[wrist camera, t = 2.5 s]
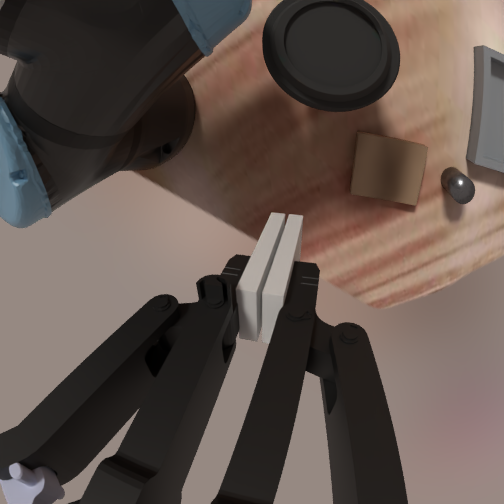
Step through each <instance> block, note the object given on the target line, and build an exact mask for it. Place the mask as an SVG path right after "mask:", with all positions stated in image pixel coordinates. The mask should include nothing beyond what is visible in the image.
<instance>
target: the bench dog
mask: <svg viewBox="0 0 504 504" xmlns="http://www.w3.org/2000/svg"><path fill="white" fill-rule="evenodd" d="M441 184H442V186H443V187H444V188H445V190H446V191H447V192H448V193H449V194H450V195H451V196H452V197H453V198H454V199H455V201H456V202H458V203H460V204H466V203H468V202H470V201H471V200H472V198H473V197H474V194H475V186H474V184H473V182H472V181H471V180H470V179H469V178H468V177H466V176H465V175H464V174H463V173H461V172H460V171H459V170H458V169H456V168H454V167H449V168H447V169H445V170H444V171H443V173H442V175H441Z"/></svg>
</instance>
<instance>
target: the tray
mask: <svg viewBox="0 0 504 504" xmlns="http://www.w3.org/2000/svg"><path fill="white" fill-rule="evenodd" d="M466 158H467V159H468V160H470V161H471V162H473V163H474V164H477V165H480V166H484V167H487V168H490V169H493V170H497V171H500V172H503V173H504V55H503V54H501V53H499V52H497V51H495V50H493V49H490V48H488V47H486V46H484V45H483V46H477V47H474V91H473V106H472V117H471V127H470V135H469V142H468V149H467V155H466Z"/></svg>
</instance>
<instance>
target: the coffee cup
mask: <svg viewBox="0 0 504 504" xmlns="http://www.w3.org/2000/svg"><path fill="white" fill-rule="evenodd" d="M262 43H263V55H264V60H265V63H266V66H267V68H268V70H269V72H270V74H271V76H272V77H273V79H274V80H275V82H276V83H277V84H278V85H279V86H280V87H281V88H282V89H283V90H284V91H285V92H286V93H287V94H288V95H290V96H291V97H292V98H294V99H295V100H297V101H299V102H301V103H303V104H305V105H307V106H310V107H312V108H316V109H319V110H324V111H331V112H345V111H352V110H356V109H360V108H363V107H365V106H368V105H369V104H371V103H373V102H375V101H377V100H378V99H380V98H381V97H382V96H384V95H385V94H386V93H387V92H388V90H389V89H390V88H391V87H392V85H393V83H394V82H395V80H396V77H397V75H398V71H399V67H400V50H399V45H398V42H397V39H396V36H395V34H394V32H393V30H392V28H391V26H390V25H389V23H388V22H387V21H386V19H385V18H384V17H383V16H382V15H381V14H380V13H379V12H378V11H377V10H376V9H375V8H374V7H372V6H371V5H370V4H368V3H367V2H365V1H364V0H283V1H282V2H280V3H279V4H278V5H277V6H276V7H275V8H274V9H273V11H272V12H271V13H270V15H269V17H268V19H267V21H266V23H265V26H264V30H263V37H262Z"/></svg>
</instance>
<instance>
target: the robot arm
mask: <svg viewBox="0 0 504 504" xmlns="http://www.w3.org/2000/svg"><path fill="white" fill-rule="evenodd" d="M251 7H252V0H0V54H2V55H5V56H7V57H9V58H12V59H15V60H17V63H16V66H15V68H14V71H13V73H12V76H11V77H10V80H9V83H8V85H7V87H6V89H5V90H4V91H3V92H0V217H2V219H4V220H5V221H6V222H7V223H9V224H10V225H12V226H14V227H17V228H25V227H28V226H30V225H32V224H34V223H35V222H37V221H38V220H40V219H42V218H48V217H49V216H50V215H51V213H52V212H53V211H54V210H56V209H57V208H59V207H60V206H61V205H63V204H65V203H66V202H68V201H69V200H71V199H72V198H74V197H76V196H77V195H79V194H80V193H82V192H84V191H85V190H87V189H89V188H90V187H92V186H93V185H95V184H97V183H99V182H100V181H102V180H103V179H106V178H107V177H109V176H111V175H113V174H114V173H116V172H118V171H129V170H146V169H151V168H154V167H157V166H159V165H161V164H162V163H164V162H166V161H168V160H170V159H171V158H173V157H174V156H175V155H176V154H177V153H178V152H179V151H180V150H181V149H182V148H183V147H184V145H185V144H186V142H187V140H188V138H189V136H190V134H191V131H192V128H193V124H194V118H195V102H194V97H193V93H192V90H191V87H190V85H189V83H188V81H187V79H186V77H185V76H184V74H185V73H186V72H187V71H188V70H190V69H191V68H192V67H193V66H194V65H195V64H196V63H198V62H199V61H200V60H201V59H202V58H203V57H205V56H207V57H208V56H209V55H211V53H212V52H213V48H214V47H215V46H216V45H218V44H219V43H220V42H221V41H222V40H223V39H224V38H225V37H226V36H228V35H229V34H230V33H231V32H232V31H234V30H235V29H236V28H237V27H238V26H240V25H241V24H242V23H243V22H244V21H245V20H246V19H247V17H248V16H249V14H250V11H251ZM302 226H303V216H302V215H293V214H289V216H288V219H287V222H286V225H285V214H283V213H273V212H271V215H270V217H269V219H268V221H267V223H266V225H265V227H264V230H263V232H262V234H261V236H260V238H259V240H258V243H257V245H256V247H255V249H254V251H253V253H252V255H251V256H245V255H237V254H236V255H235V256H234V257H232V258H231V259H230V260H229V261H228V263H227V264H226V266H225V268H224V270H223V271H222V273H221V275H208V276H205V277H203V278H201V279H199V280H198V281H197V283H196V285H197V290H198V296H199V301H198V302H195V303H183V304H179V303H178V301H177V299H176V298H175V297H174V296H172V295H168V294H164V295H158V296H155V297H154V298H152V299H151V300H149V301H148V302H147V303H146V304H145V305H144V306H143V307H142V308H140V309H139V310H138V311H137V312H136V313H135V314H134V315H133V316H132V317H131V318H129V319H128V320H127V321H126V322H125V323H124V324H123V325H122V326H121V327H120V328H119V329H118V330H116V331H115V332H114V333H113V334H112V335H111V336H110V337H109V338H108V339H107V340H106V341H104V342H103V343H102V344H101V345H100V346H99V347H98V348H97V349H96V350H95V351H94V352H93V353H92V354H90V355H89V356H88V357H87V358H86V359H85V360H84V361H83V362H82V363H81V364H80V365H79V366H78V367H77V368H76V369H75V370H74V371H73V372H72V373H70V375H68V376H67V377H66V378H65V379H64V380H63V381H62V382H61V383H60V384H59V385H58V386H57V387H56V388H55V389H54V390H53V391H52V392H51V393H50V394H49V395H48V396H47V397H46V398H45V399H44V400H43V401H42V402H41V403H40V404H39V405H38V406H37V407H36V408H35V409H34V410H33V411H32V412H31V413H30V414H29V415H28V416H27V417H26V418H25V419H24V420H23V421H22V422H21V423H20V424H19V425H18V426H16V427H14V428H12V429H10V430H8V431H6V432H3V433H1V434H0V484H1V487H2V490H3V493H4V496H5V498H6V501H7V504H52V503H53V502H54V501H56V500H57V499H62V498H63V497H64V495H65V492H64V489H63V488H62V487H61V485H63V484H65V483H67V482H69V481H71V480H72V479H73V478H75V477H76V476H77V475H78V474H79V473H80V472H82V471H83V470H84V469H85V468H86V467H87V466H88V464H89V463H90V462H91V461H92V460H93V459H94V458H95V457H96V456H97V455H98V453H99V452H100V451H101V450H102V449H103V448H104V447H105V446H106V445H107V443H108V442H109V441H110V440H111V439H112V438H113V437H114V436H115V434H116V433H117V432H118V431H119V430H120V429H121V428H122V427H123V426H124V425H125V423H126V422H127V421H128V420H129V419H130V418H131V417H132V416H133V414H134V413H135V412H136V411H137V410H138V409H139V411H138V412H137V414H136V416H135V418H134V420H133V422H132V424H131V426H130V428H129V430H128V431H127V434H126V435H125V437H124V439H123V441H122V443H121V445H120V447H119V449H118V451H117V452H116V454H115V455H113V456H111V457H109V458H105V459H104V460H103V461H102V462H101V463H100V464H99V465H98V467H97V469H96V471H95V473H94V475H93V476H92V478H91V480H90V483H89V485H88V486H87V489H86V491H85V492H84V495H83V497H82V498H81V499H80V500H77V501H75V502H71V503H68V504H181V499H182V498H181V491H182V488H183V485H184V483H185V480H186V477H187V475H188V473H189V470H190V467H191V465H192V462H193V460H194V457H195V455H196V452H197V450H198V447H199V444H200V442H201V439H202V437H203V434H204V431H205V429H206V426H207V424H208V421H209V418H210V416H211V413H212V410H213V408H214V405H215V403H216V400H217V397H218V395H219V392H220V389H221V387H222V384H223V381H224V378H225V376H226V373H227V370H228V368H229V365H230V362H231V359H232V357H233V354H234V351H235V348H236V336H237V334H238V332H239V337H240V338H241V339H246V340H252V341H257V340H258V337H259V334H260V331H261V327H262V342H264V343H269V346H268V349H267V353H266V356H265V359H264V362H263V365H262V369H261V372H260V375H259V378H258V381H257V384H256V387H255V390H254V394H253V397H252V400H251V403H250V406H249V409H248V412H247V414H246V418H245V420H244V423H243V426H242V429H241V432H240V435H239V438H238V441H237V443H236V446H235V449H234V452H233V455H232V458H231V460H230V463H229V466H228V468H227V471H226V474H225V476H224V479H223V482H222V484H221V487H220V490H219V492H218V494H217V496H216V498H215V499H214V500H213V501H212V502H211V504H273V502H274V499H275V495H276V492H277V489H278V485H279V481H280V478H281V474H282V470H283V467H284V463H285V459H286V456H287V452H288V447H289V444H290V440H291V435H292V431H293V427H294V422H295V418H296V413H297V409H298V404H299V400H300V394H301V390H302V385H303V380H304V375H305V371H307V372H309V373H312V374H314V375H316V376H318V377H320V383H321V391H322V398H323V405H324V414H325V422H326V430H327V440H328V449H329V459H330V469H331V481H332V493H333V504H408V501H407V494H406V489H405V482H404V476H403V471H402V466H401V461H400V456H399V451H398V446H397V441H396V437H395V433H394V428H393V424H392V420H391V416H390V412H389V408H388V404H387V400H386V396H385V392H384V389H383V385H382V382H381V378H380V375H379V371H378V368H377V364H376V361H375V358H374V354H373V351H372V348H371V345H370V342H369V338H368V336H367V333H366V332H365V330H364V329H363V328H362V327H360V326H359V325H357V324H354V323H347V322H345V323H341V324H338V325H337V326H335V327H334V326H331V325H328V324H327V323H325V322H323V321H322V320H321V319H319V317H318V316H317V314H316V311H315V307H316V299H317V291H318V282H319V273H320V270H319V268H318V266H317V264H316V263H308V262H300V252H301V240H302Z"/></svg>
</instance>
